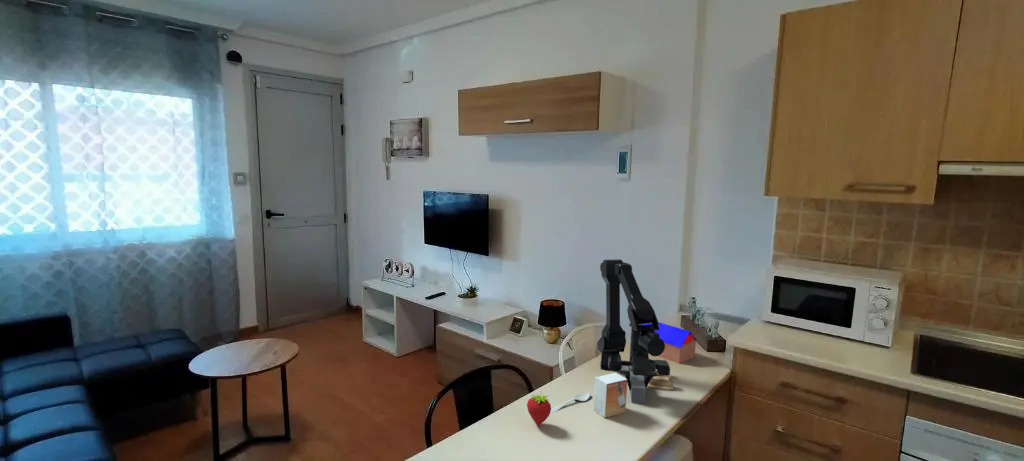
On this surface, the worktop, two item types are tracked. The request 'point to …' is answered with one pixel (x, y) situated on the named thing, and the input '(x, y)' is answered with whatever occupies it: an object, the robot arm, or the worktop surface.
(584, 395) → the spoon
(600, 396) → the small box
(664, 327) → the house
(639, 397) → the grey rectangular block
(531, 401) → the strawberry
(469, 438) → the worktop surface
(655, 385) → the display stand
